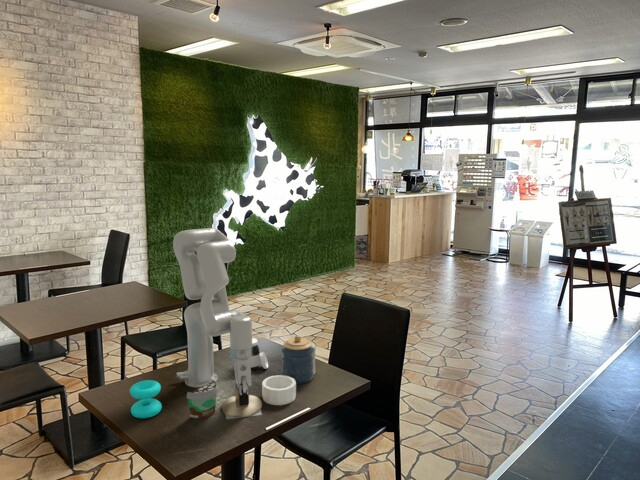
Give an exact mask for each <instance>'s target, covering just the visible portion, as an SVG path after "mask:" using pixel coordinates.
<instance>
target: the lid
mask: <svg viewBox="0 0 640 480" xmlns="http://www.w3.org/2000/svg"><path fill="white" fill-rule="evenodd" d="M234 389H235V394H234V395H233V396H230V397H228V398H227V399H226V398H225V399H226V400H225V401H224V402H222V403H221V412H222V413H223V414H226V415H228V416H232V417H241V418H247V416H249V417H252V416H251V415H254V414H256V413H257V412H259V411H260V410H261V411H262V409H263V408H262V407H263V403H262V402H263V400H261V399H260V398H259V397H257V396H256V395H251V394H249V404H248V405H243V406H240V405H239V394H240V389H239V387H238V386H236V385H235V388H234ZM242 389H243V388H241V390H242ZM255 396H256V397H255ZM226 415H225V416H226Z"/></svg>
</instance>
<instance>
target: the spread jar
mask: <svg viewBox="0 0 640 480" xmlns="http://www.w3.org/2000/svg"><path fill="white" fill-rule="evenodd" d="M267 358H268V357H267V355H266V353H265V351H262V352H261V350H260V348H259V346H258V339H256V338H254V337H252V357H250V365H251V371H254V370H256V369H258V368H260V366H262V368H263V369H265V370H266V369H268V368H269V362H268V359H267Z"/></svg>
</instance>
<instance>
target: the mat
mask: <svg viewBox="0 0 640 480" xmlns="http://www.w3.org/2000/svg"><path fill="white" fill-rule="evenodd" d="M254 396H255V397H257V395H254ZM225 400H226V398H224V399H222V401H223V402H224V401H225ZM223 402H222V403H223ZM262 415H263V414H262V409H261V410H260V411H259V412H257V413H256V414H254V415H251V416H247V417H255V416H262ZM224 416H225V419H226V420H233V419H239V418H242V417H232V416H228V415H226V414H225V415H224ZM247 417H246V418H247Z"/></svg>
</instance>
